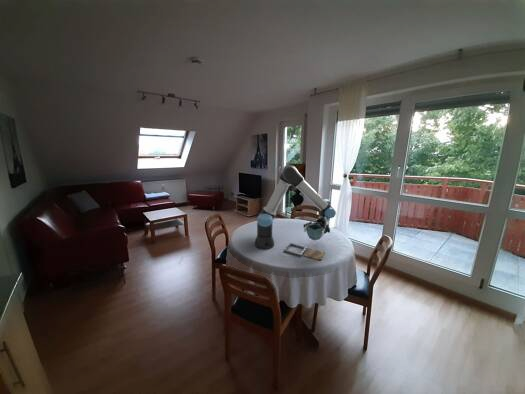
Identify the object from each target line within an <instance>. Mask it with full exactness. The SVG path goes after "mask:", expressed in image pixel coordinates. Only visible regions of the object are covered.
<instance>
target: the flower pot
mask: <svg viewBox="0 0 525 394" xmlns="http://www.w3.org/2000/svg"><path fill="white" fill-rule="evenodd" d="M306 227H307V231H306V233H307V236H308V238H309V239H311V240H312V241H318V240H320V239H321V238H322V237H323V236H322V231H323V230H324V228H323V227H321V226H319V225H317V224H313V225H308V226H306Z"/></svg>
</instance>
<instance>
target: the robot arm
mask: <svg viewBox="0 0 525 394" xmlns="http://www.w3.org/2000/svg"><path fill="white" fill-rule="evenodd" d="M278 180H279V181H278V183H277V185H276V187H275V188H274V190H273V193H272V195H271V196H270V198H269V201H267V204H266V206H264V207H262V210H261V211H260V213H259V214H258V216H257V219H256V228H257V229H256V238H255V240H254V246H255V248H257V249H259V250H270V249H271V248H274V246H275V240H274V237H273V222H274V219H275V217H276V215H277V212H276V211H277V210H278V208H279V206H280V204H281V202H282V200H283V199H284V196H285V194H286V193H287V191H288V189H289V188H290V186H292V187H293V188H296V189H298V190H299V191H300V193H302V194H303V196H305V197H306V198H307V199H308V200H309V201H310V202H311V203H312V204H313V205H314V206H315V207H316V208H317V209H318V210H319V216H318V218H317V219H316V220H315V221H314V222H313V221H309V222H306V223H304V224H303V229H304V230H303V232H304V233H307V227H306V226H308V225H313V224H317V225H319V226H321V227H323V228H324V230H323V231H322V237H323V236H324V235H325V234H327V233H329V234H330V232H331V228H330V226H329V225H330V224H328V223H329V221H330V219H333V218H334V217H335V216H336V215H337V213H336V210H335V209H334V207H333V206H332V205H331V200H330V199H327V198H323V197H322V196H321V195H320V194H319V193H318V192H317V191H316V190H315V189H314V188H313V187H312V186H311V185H310V184H309V183H308V182H307V181H306V180H305V178H304V176H303V175H302V174H301V173H300V172H299V170H298V169H297V167H296V166H294V165H292V164H287V165H285V166H284V167H283V168H282V170H281V173H280V175H279V177H278Z"/></svg>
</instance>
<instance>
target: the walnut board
mask: <svg viewBox="0 0 525 394" xmlns="http://www.w3.org/2000/svg"><path fill="white" fill-rule="evenodd" d="M325 255H326V252H325V251H321V250H318V249H314V248H309V247H308V248H307V250H306V251H305V252H304V253H303V257H306V258H309V259H312V260H317V261H319V262H321V261H322V259H323V257H324V256H325Z"/></svg>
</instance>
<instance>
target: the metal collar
mask: <svg viewBox="0 0 525 394" xmlns="http://www.w3.org/2000/svg"><path fill="white" fill-rule="evenodd" d="M291 246H292V247H295V248H298V249H301V250H302V249H303V250H302V251H300V253H299V252H295V251H291V250H289V248H290V247H291ZM307 250H308V247H307V246H305V245H299V244H296V243H293V242H290V243H289V244H288V245H287V246H286V247H284V249H283V253H286V254H290V255H293V256H298V257H300V258H301V257H302V256H304V254H305V253H306V251H307Z"/></svg>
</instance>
